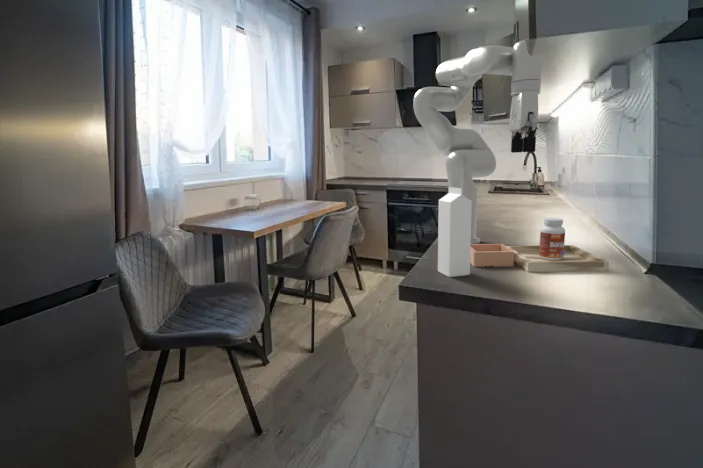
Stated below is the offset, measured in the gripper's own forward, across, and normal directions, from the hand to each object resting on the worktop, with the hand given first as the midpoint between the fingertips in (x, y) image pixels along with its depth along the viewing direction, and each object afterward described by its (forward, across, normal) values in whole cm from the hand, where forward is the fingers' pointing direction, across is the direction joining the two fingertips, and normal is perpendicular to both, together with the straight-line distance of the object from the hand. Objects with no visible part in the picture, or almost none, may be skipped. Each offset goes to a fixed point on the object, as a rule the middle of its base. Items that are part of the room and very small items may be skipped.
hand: (522, 152), depth 118 cm
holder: (+30, +6, -10) cm, 32 cm away
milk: (+31, +17, -22) cm, 41 cm away
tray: (+30, +7, +7) cm, 32 cm away
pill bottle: (+30, +7, +7) cm, 31 cm away
